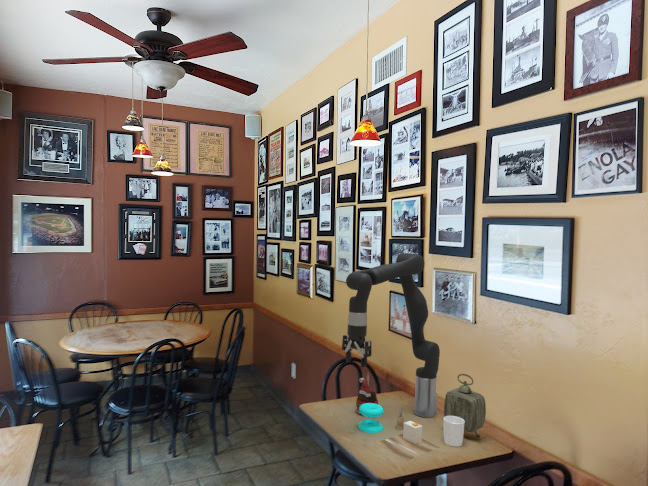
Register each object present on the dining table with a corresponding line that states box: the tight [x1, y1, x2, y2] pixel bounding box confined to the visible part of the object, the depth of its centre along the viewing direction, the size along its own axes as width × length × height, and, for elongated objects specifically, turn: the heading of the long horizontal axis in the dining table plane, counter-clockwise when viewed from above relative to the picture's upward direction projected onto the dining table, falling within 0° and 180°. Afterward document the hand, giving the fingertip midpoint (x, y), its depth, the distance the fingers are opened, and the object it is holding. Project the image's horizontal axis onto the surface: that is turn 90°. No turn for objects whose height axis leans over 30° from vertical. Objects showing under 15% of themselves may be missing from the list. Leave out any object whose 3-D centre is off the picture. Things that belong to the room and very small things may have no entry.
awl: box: [396, 408, 405, 431], centre depth 181 cm, size 3×3×9 cm
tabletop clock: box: [443, 373, 487, 439], centre depth 179 cm, size 14×9×25 cm, turn 43°
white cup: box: [442, 416, 465, 447], centre depth 170 cm, size 8×8×10 cm
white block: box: [402, 420, 423, 444], centre depth 170 cm, size 4×6×7 cm, turn 38°
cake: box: [355, 372, 379, 415], centre depth 199 cm, size 11×9×18 cm
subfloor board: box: [375, 433, 440, 461], centre depth 166 cm, size 18×16×1 cm
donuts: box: [358, 403, 385, 434], centre depth 180 cm, size 10×10×10 cm
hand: (355, 364), depth 173 cm, fingers open, 8 cm apart
